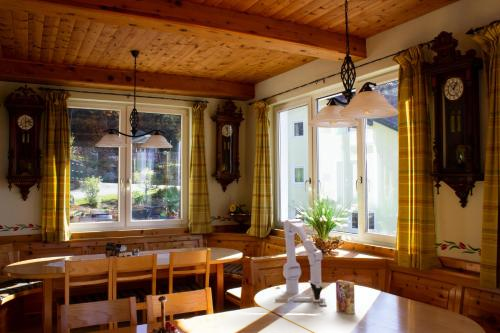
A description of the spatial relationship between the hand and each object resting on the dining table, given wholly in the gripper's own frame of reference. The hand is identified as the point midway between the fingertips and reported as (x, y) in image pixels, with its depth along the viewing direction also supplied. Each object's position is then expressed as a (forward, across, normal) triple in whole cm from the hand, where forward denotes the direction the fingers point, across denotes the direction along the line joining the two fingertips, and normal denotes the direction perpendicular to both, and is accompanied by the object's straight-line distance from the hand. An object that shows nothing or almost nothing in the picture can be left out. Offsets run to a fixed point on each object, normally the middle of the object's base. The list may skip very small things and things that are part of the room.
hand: (316, 297), depth 233 cm
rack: (+3, 0, -4) cm, 5 cm away
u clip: (+1, 0, 0) cm, 1 cm away
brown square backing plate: (+3, -2, -19) cm, 19 cm away
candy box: (+3, +15, +12) cm, 20 cm away
